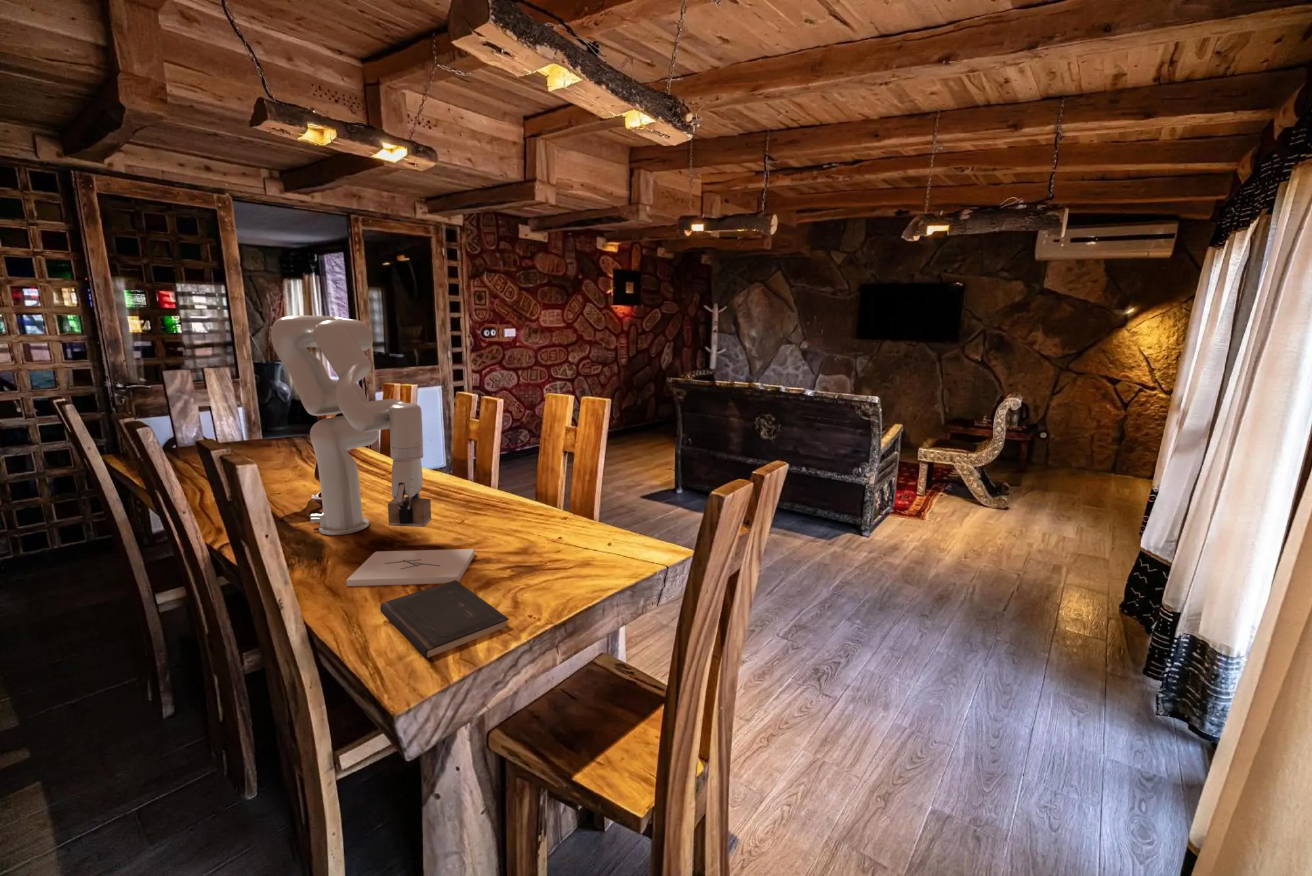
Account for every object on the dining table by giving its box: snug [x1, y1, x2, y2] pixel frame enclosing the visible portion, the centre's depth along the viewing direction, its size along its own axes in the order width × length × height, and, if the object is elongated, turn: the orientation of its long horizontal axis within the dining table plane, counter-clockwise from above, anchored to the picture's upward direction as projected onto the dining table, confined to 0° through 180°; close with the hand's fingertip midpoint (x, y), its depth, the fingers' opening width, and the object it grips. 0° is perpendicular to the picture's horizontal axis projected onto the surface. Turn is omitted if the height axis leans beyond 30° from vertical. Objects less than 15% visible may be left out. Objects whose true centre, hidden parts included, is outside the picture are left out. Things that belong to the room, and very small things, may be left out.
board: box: [346, 548, 476, 587], centre depth 135 cm, size 24×16×2 cm, turn 95°
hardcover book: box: [379, 580, 510, 660], centre depth 112 cm, size 16×23×2 cm
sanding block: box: [387, 497, 432, 528], centre depth 149 cm, size 9×5×6 cm, turn 91°
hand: (410, 518), depth 149 cm, fingers closed on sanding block, 5 cm apart
